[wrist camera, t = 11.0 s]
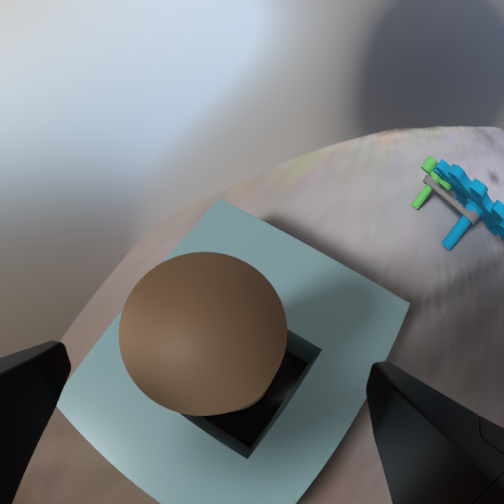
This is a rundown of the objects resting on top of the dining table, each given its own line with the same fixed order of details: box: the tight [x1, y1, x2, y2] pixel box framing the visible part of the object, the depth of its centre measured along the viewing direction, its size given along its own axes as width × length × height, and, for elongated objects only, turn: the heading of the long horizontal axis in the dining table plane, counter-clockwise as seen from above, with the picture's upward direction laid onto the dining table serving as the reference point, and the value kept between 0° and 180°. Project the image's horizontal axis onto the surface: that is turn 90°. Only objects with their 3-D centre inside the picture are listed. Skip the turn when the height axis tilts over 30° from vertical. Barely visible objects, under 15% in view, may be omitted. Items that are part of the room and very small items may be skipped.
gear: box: [412, 156, 504, 251], centre depth 21 cm, size 11×6×10 cm
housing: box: [56, 198, 410, 504], centre depth 16 cm, size 16×13×4 cm
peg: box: [119, 252, 287, 416], centre depth 12 cm, size 4×4×12 cm
